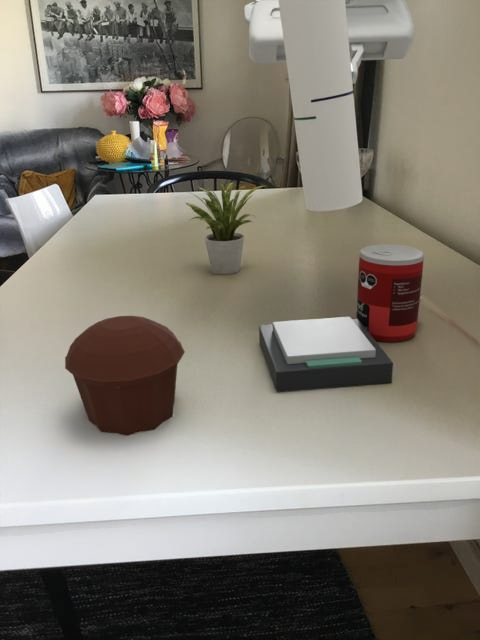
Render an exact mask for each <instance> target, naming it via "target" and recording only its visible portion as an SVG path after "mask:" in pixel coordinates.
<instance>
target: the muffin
mask: <svg viewBox="0 0 480 640" xmlns="http://www.w3.org/2000/svg"><path fill="white" fill-rule="evenodd" d="M184 354H185V349H184V347H183V345H182V343H181V341H180V340H179V339H178V338H177V336H176V335H175V333H174V332H173V331H172V330H171V329H170V328H169V327H167V326H166V325H164V324H161V323H159V322H157V321H155V320H152V319H150V318H147V317H145V316H139V315H138V316H137V315H117V316H113V317H108V318H105V319H102V320H99V321H98V322H95V323H93V324H92V325H89V326H88V327H87V328H86V329H85V330H83V331H82V332H81V333H80V334H79V335H78V336H77V337H76V338H75V339H74V340H73V341H72V343H71V344H70V346H69V348H68V351H67V353H66V356H65V357H64V368H65V370H66V371H68V373H70V374H71V375H72V376H73V379H74V382H75V385H76V387H77V391H78V393H79V396H80V400H81V402H82V405H83V408H84V411H85V414H86V416H87V420H88V421H89V422H90V423H92V425H94V426H95V427H96V428H97V429H98V430H99V432H100V433H105V434H106V433H107V434H116V435H121V436H126V437H128V436H131V435H135V434H139V433H143V432H148V431H153V430H156V429H157V428H158V427H159V426H160V425H162V424H163V423H164V422H166V421H168V420H170V419H171V418H173V414H174V405H175V399H176V387H177V375H178V365H179V363H180V361H181V359H182V357H183V356H184Z"/></svg>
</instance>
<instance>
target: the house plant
mask: <svg viewBox="0 0 480 640" xmlns="http://www.w3.org/2000/svg"><path fill="white" fill-rule="evenodd" d="M219 182H220V187H221V193H220V194H221V200H222V203H221V202H220V200H219V198H218V196H217V195H216V193H215V192H214V191H213V189H211V188H210V187H209V186H208V185H206V187H207V188H208V189H209V190H208V189H206V188H203V187H201V186H200V187H199V186H197V189H200V190H202V191H203V192H204V194H206V196H207V197H208V198H209V199H210V200H209V199H208V198H204V197H199V196H198V195H196V194H194V193H192V192H187V193H188V194H191V195H193V196H195V198H197V199H198V200H199V201H201V203H202V204H203V205H204V206H205V207H206V209H207V210H208V211H209V212H210V214H211V215H212V216H213V217H212V216H211V215H210V214H209V213H208V212H207V211H206V210H204V209H202V208H201V207H199V206H197V205H195V204H193V203H189V202H185V204H186V206H187V207H190V208H191V210H192V211H193V212H194V213H195V214H197V216H194V217H192V218H191V219H190V221H192V220H193V219H195V220H197V219H198V220H200V221H205V222H206V224H207V227H206V228H205V230H208V229H210V230H211V232H212V233H209V234H206V235H205V236H204V242H205V247H206V250H207V255H208V260H209V265H210V270H211V272H212V273H214V274H217V275H232V274H235V273H238V272H240V270H241V264H242V256H243V248H244V240H245V236H244V234H242V233H240V232H236V230H237V229H238V228H239V227H240V226H243V225H244V224H248V223H254V221H252V220H250V219H246V218H248V217H251V216H252V217H255V215H253V214H249V213H244V214H242V215H241V216H240V217H238V215H239V213H240V211H241V209H242V208H244V206H245V205H246V203H247V202H248V201H249V200H250V199H251V198H252V197H253V196H254V195H255V193H253V192H256V190H258V189H260V188H264V187H268V184H267V185H259V186H256V187H253V188H252V189H250V190H248V191H247V192H246V193H244V195H243V197H242V198H240V201H239V202H238V200H239V197H240V193H241V192H242V191H241V189H243V188H246V187H247V186H246V185H244V186H241V187H239V188H238V189H237V190H236V192H235V194H234V196H233V198H232V199H231V196H232V195H231V194H232V190H233V184H234V182H233V181H232V182H229V183H228V184H227V187H226V190H225V186H224V184H223V182H222V181H221V180H220V181H219ZM202 184H204V185H205V183H204V182H202ZM252 193H253V194H252ZM221 204H222V205H221ZM237 217H238V219H237Z"/></svg>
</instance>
